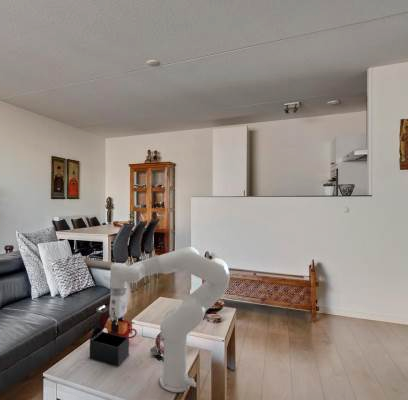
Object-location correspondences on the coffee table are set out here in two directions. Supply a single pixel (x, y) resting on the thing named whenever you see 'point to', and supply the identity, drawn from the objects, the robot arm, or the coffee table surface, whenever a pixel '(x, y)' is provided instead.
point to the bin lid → (100, 321)
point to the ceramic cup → (126, 331)
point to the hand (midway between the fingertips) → (117, 329)
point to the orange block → (121, 327)
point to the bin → (109, 348)
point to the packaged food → (154, 351)
